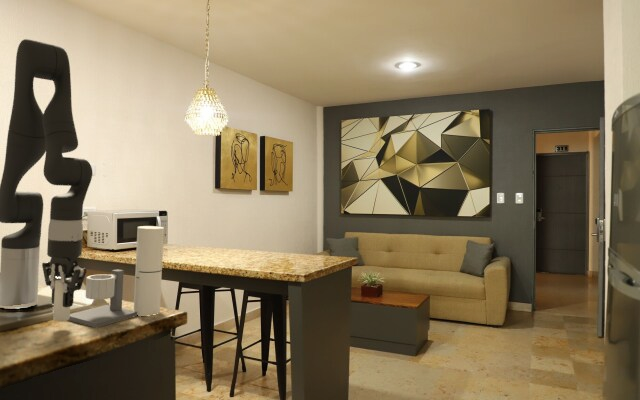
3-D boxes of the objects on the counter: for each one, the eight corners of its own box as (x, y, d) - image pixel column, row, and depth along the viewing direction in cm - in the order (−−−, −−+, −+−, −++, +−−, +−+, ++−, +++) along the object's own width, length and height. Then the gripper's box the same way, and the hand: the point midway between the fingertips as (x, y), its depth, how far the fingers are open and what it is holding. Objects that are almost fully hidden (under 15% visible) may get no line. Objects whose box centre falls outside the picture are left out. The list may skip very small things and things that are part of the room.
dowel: (49, 319, 112) (51, 280, 112) (63, 316, 116) (65, 277, 115) (59, 322, 111) (61, 282, 110) (72, 318, 114) (74, 280, 114)
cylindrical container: (150, 317, 126) (155, 229, 126) (128, 314, 128) (132, 227, 127) (164, 311, 133) (168, 227, 133) (142, 308, 135) (146, 225, 134)
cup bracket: (65, 319, 120) (67, 273, 120) (106, 308, 132) (108, 266, 132) (96, 328, 115) (99, 279, 115) (136, 315, 127) (138, 272, 127)
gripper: (32, 235, 112) (29, 303, 113) (70, 242, 106) (67, 314, 107) (60, 232, 119) (57, 297, 119) (98, 239, 113) (94, 306, 114)
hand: (62, 304), depth 113 cm, fingers closed on dowel, 3 cm apart
